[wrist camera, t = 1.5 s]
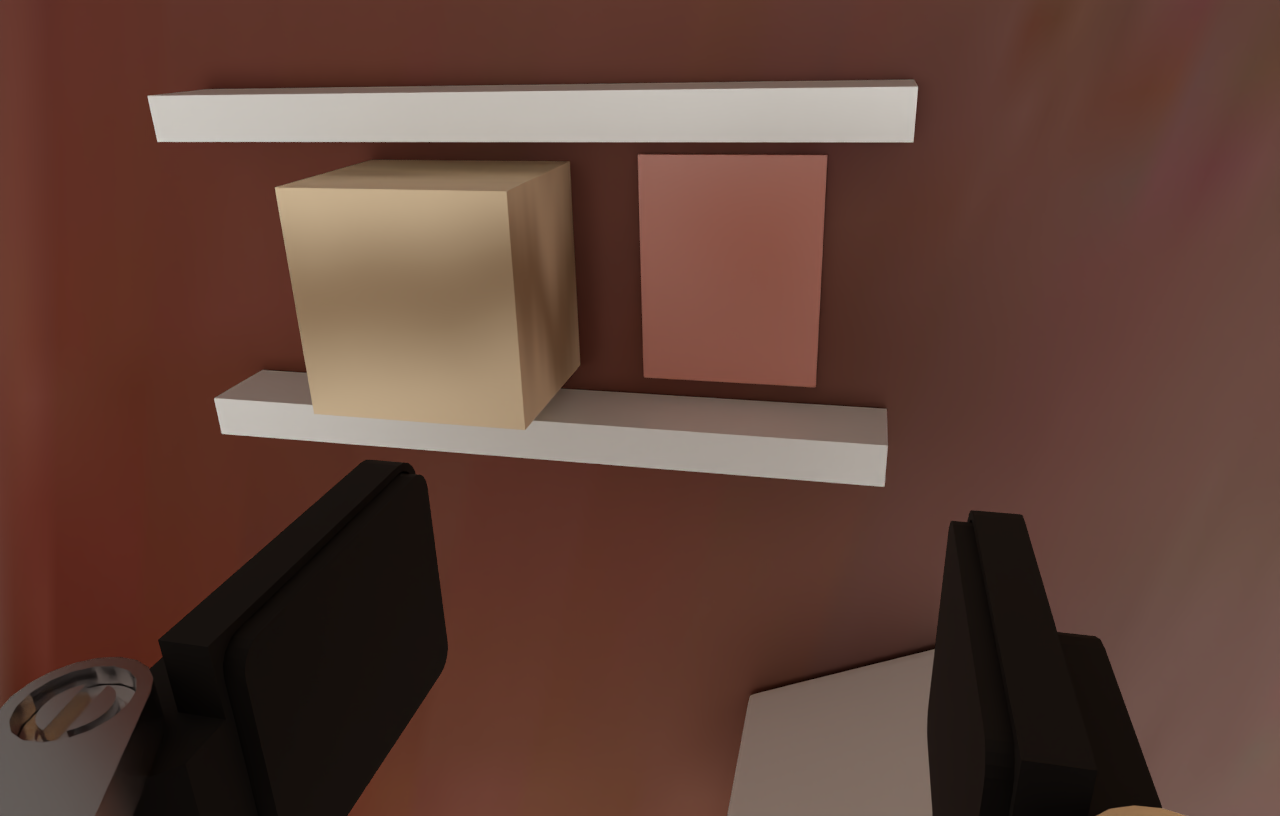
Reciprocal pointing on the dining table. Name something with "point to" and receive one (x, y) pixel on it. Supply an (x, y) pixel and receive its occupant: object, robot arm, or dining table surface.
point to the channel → (670, 262)
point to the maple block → (434, 288)
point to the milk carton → (839, 745)
